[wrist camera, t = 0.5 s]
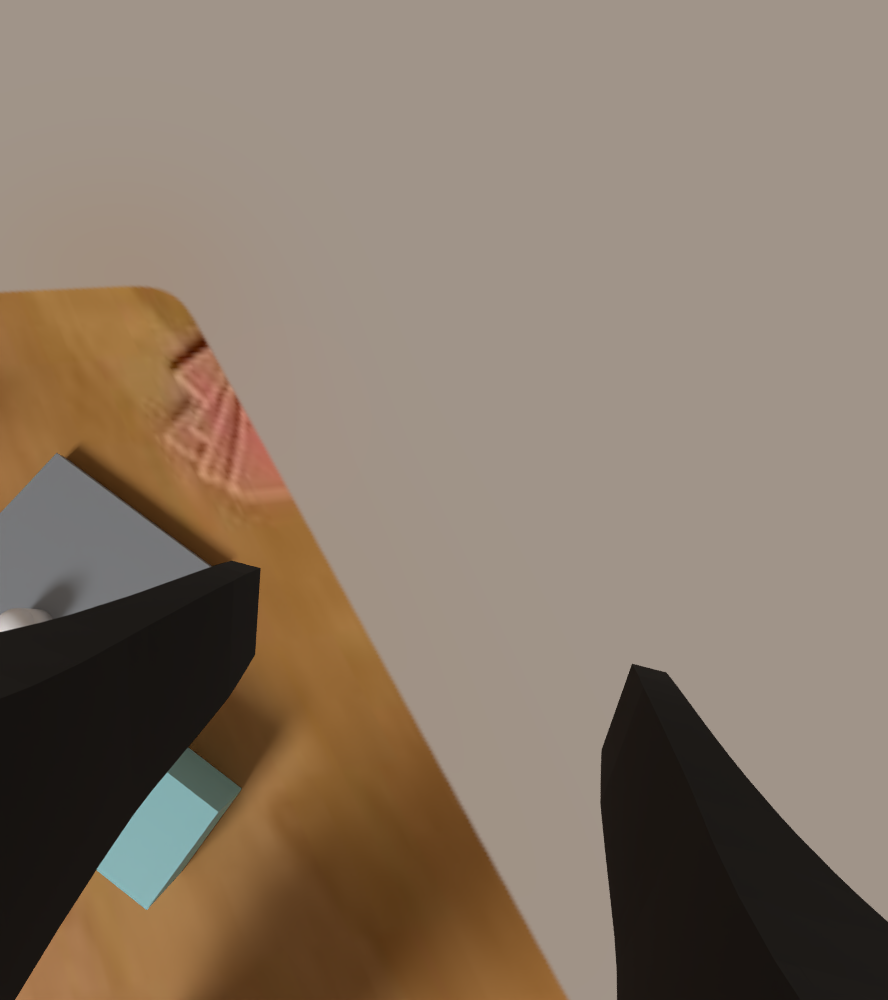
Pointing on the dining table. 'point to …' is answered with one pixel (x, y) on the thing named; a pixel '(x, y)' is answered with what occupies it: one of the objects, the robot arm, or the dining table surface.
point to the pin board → (78, 548)
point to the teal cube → (168, 828)
